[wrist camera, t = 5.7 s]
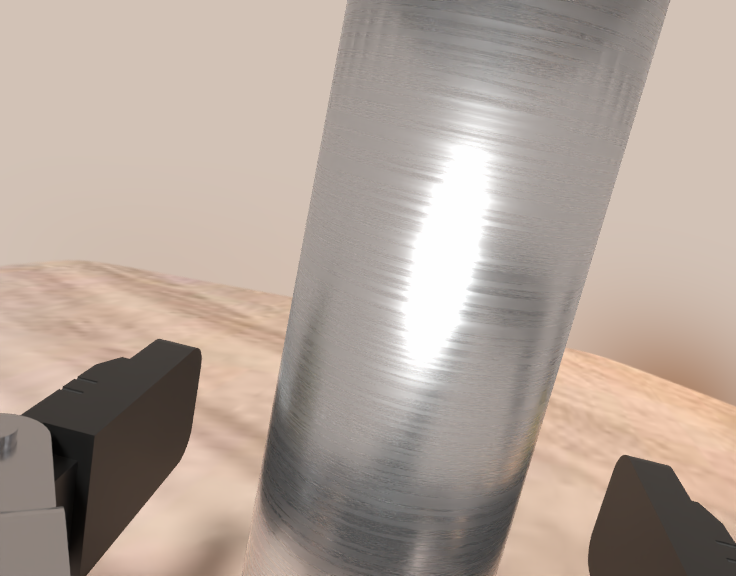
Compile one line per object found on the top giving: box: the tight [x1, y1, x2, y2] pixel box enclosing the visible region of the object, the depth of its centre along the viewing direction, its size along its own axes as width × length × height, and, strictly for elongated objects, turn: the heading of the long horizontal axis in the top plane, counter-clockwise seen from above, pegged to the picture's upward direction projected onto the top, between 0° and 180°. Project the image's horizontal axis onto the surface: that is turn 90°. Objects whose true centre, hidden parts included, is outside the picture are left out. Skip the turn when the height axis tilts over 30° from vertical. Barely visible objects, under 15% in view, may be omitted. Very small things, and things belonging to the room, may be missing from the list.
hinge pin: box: [242, 0, 670, 576], centre depth 10 cm, size 5×5×19 cm
